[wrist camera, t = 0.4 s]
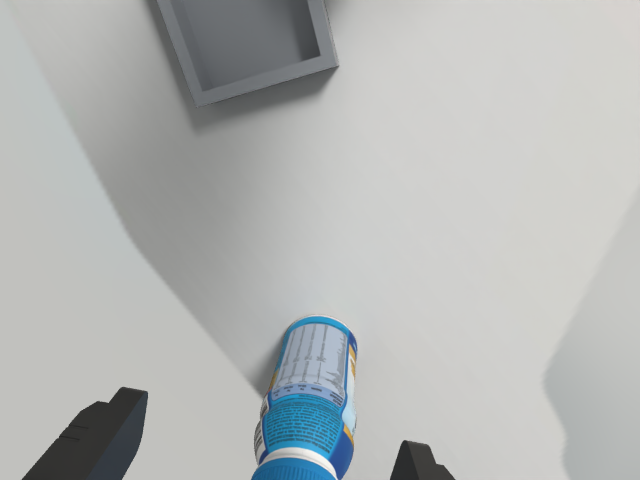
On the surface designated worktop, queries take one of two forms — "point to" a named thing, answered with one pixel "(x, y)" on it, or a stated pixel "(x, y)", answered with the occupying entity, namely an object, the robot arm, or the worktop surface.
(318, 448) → the beverage bottle
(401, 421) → the worktop surface
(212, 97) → the tray
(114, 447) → the robot arm
